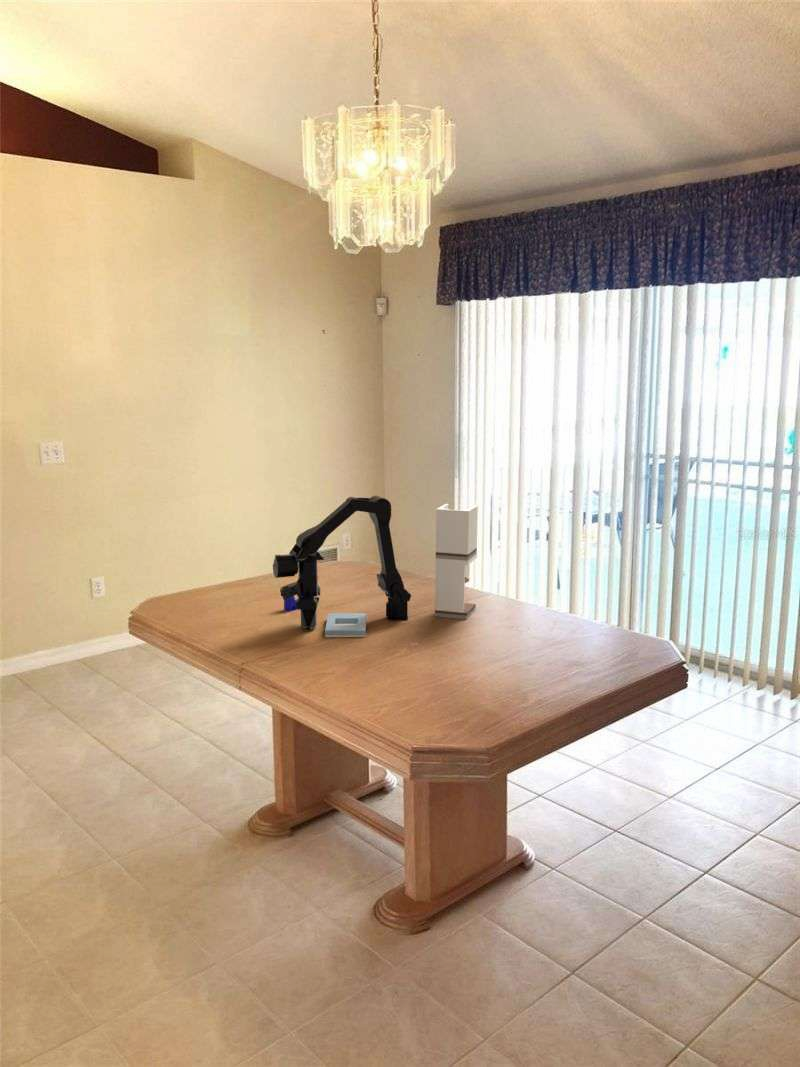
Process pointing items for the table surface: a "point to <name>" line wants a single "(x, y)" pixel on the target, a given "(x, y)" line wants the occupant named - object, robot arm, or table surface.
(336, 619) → the socket
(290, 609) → the blue notched cradle
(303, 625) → the plug
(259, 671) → the table surface
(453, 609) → the white dispenser
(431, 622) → the table surface
